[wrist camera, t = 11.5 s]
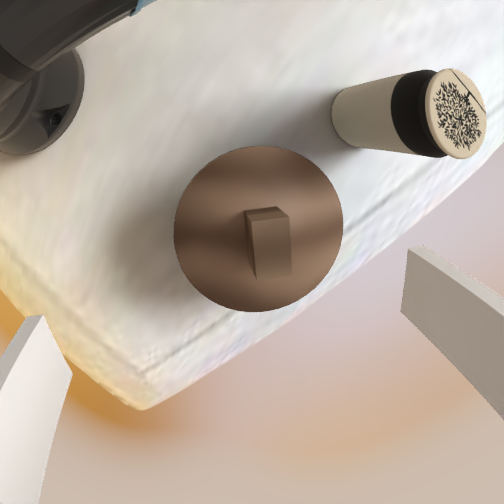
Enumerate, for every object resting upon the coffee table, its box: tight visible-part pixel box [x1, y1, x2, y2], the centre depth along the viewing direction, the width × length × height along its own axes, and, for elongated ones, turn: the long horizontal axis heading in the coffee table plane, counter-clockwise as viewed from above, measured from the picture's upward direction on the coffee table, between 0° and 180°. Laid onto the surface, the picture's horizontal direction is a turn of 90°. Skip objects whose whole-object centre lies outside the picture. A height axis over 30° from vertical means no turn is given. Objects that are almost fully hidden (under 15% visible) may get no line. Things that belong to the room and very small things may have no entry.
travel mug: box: [331, 69, 486, 159], centre depth 27 cm, size 8×8×18 cm
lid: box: [174, 146, 343, 312], centre depth 28 cm, size 16×16×5 cm
